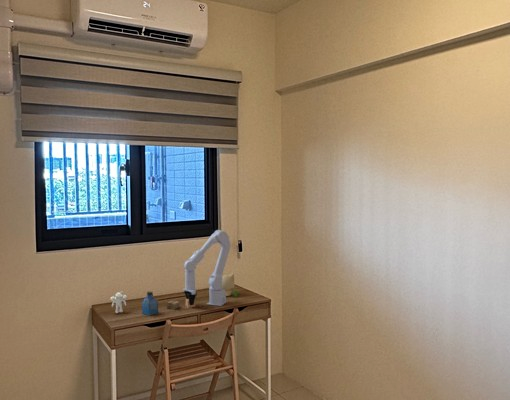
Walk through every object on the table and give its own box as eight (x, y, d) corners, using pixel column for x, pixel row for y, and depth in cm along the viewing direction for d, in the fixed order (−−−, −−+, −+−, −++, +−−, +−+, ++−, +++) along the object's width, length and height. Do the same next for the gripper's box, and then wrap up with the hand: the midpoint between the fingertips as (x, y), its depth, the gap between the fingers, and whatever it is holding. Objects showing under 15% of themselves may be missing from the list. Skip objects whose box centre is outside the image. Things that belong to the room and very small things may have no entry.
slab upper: (179, 304, 274) (179, 301, 274) (174, 307, 269) (174, 303, 269) (171, 304, 276) (171, 300, 276) (167, 306, 271) (167, 302, 271)
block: (193, 304, 279) (192, 298, 279) (195, 306, 275) (195, 300, 275) (185, 305, 278) (185, 299, 277) (187, 307, 273) (187, 300, 273)
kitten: (239, 294, 304) (239, 271, 303) (237, 298, 294) (236, 274, 293) (217, 293, 306) (217, 270, 305) (213, 297, 296) (213, 273, 295)
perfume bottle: (151, 311, 267) (150, 290, 267) (158, 313, 263) (157, 291, 263) (142, 313, 262) (141, 292, 262) (149, 315, 259) (148, 294, 258)
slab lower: (179, 308, 274) (178, 304, 274) (174, 310, 269) (174, 307, 269) (171, 307, 276) (171, 304, 276) (166, 309, 271) (166, 306, 271)
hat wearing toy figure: (126, 310, 269) (125, 289, 269) (127, 311, 266) (127, 290, 265) (110, 312, 265) (109, 291, 265) (111, 314, 262) (111, 292, 261)
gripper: (180, 279, 281) (180, 301, 281) (186, 284, 267) (187, 307, 268) (191, 278, 283) (191, 300, 284) (198, 283, 270) (199, 306, 271)
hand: (190, 303), depth 276 cm, fingers closed on block, 4 cm apart
